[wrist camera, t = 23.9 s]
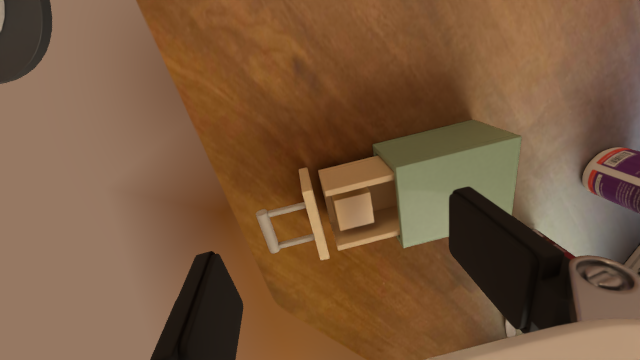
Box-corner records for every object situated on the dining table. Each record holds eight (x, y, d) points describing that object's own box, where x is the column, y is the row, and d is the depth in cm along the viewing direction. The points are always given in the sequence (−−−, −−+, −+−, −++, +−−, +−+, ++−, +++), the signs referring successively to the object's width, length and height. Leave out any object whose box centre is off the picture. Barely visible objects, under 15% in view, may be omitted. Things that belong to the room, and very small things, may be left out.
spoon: (504, 276, 52) (511, 282, 51) (520, 332, 61) (526, 339, 60) (484, 285, 53) (490, 292, 51) (503, 340, 62) (508, 347, 60)
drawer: (275, 240, 41) (274, 272, 35) (254, 180, 36) (248, 205, 30) (400, 208, 41) (420, 235, 35) (394, 145, 37) (416, 163, 31)
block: (334, 212, 39) (340, 231, 35) (327, 184, 37) (333, 201, 33) (364, 204, 39) (374, 222, 35) (360, 176, 37) (370, 192, 33)
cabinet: (381, 212, 42) (403, 248, 35) (372, 144, 37) (395, 167, 30) (469, 190, 43) (511, 220, 35) (472, 119, 38) (522, 136, 30)
